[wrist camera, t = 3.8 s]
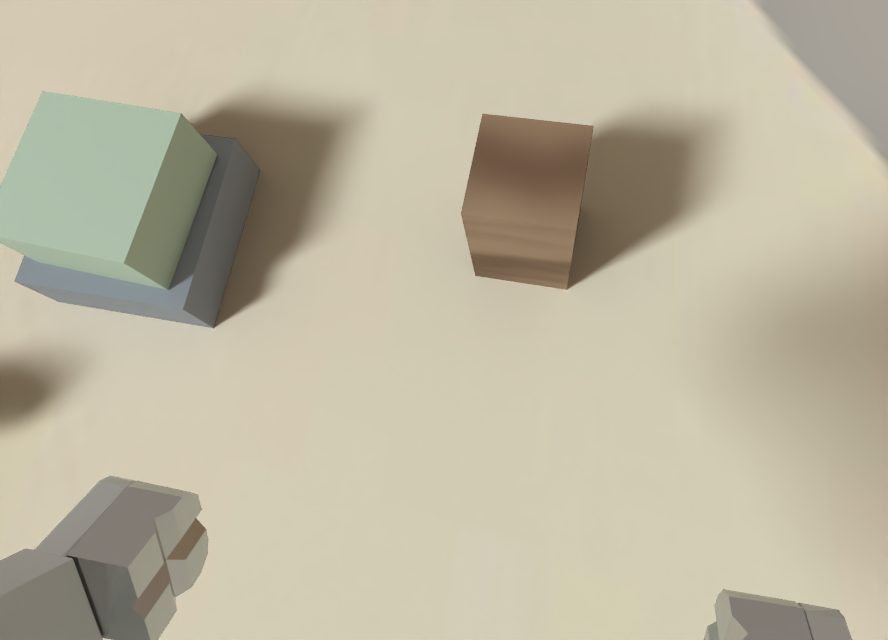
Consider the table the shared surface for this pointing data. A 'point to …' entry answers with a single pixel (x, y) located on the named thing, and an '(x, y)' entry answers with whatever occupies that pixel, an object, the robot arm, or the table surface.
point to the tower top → (104, 188)
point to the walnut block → (525, 198)
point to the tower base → (198, 266)
